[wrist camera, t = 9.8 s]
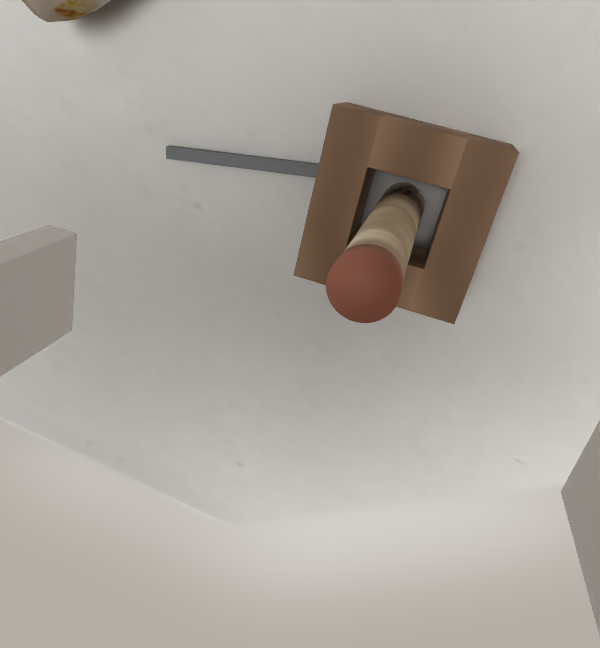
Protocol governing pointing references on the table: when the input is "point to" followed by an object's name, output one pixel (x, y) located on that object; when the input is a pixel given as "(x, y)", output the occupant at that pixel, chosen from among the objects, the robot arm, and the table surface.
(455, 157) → the wooden block with hole
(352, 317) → the wooden dowel rod
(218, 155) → the gray square bar
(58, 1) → the mug
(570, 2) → the table surface
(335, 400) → the table surface
